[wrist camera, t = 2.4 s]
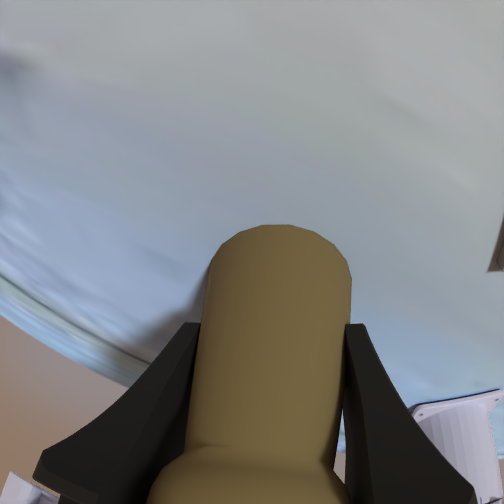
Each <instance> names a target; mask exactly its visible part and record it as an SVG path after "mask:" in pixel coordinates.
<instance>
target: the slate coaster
mask: <svg viewBox="0 0 504 504" xmlns="http://www.w3.org/2000/svg"><path fill="white" fill-rule="evenodd" d="M497 264H498V265H499V267H500V268H501V270H502V271H504V241H503V245H502V248H501V251H500V254H499V257H498V260H497Z"/></svg>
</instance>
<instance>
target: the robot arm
mask: <svg viewBox="0 0 504 504" xmlns="http://www.w3.org/2000/svg"><path fill="white" fill-rule="evenodd" d="M200 327H201V323H188V322H185V323H184V324H183V325H182V326H181V327H180V329H179V330H178V331H177V333H176V334H175V335H174V336H173V338H172V339H171V340H170V342H169V343H168V344H167V345H166V347H165V348H164V349H163V350H162V352H161V353H160V354H159V355H158V357H157V358H156V359H155V360H154V361H153V363H152V364H151V365H150V366H149V367H148V369H147V370H146V371H145V372H144V373H143V374H142V375H141V376H140V378H139V379H138V380H137V381H136V382H135V383H134V384H133V385H132V386H131V387H130V388H129V389H128V390H127V391H126V392H125V393H124V394H123V395H122V396H121V397H120V398H119V399H118V400H117V401H116V402H115V403H114V404H113V405H111V406H110V407H109V408H108V409H107V410H105V411H104V412H103V413H102V414H101V415H99V416H98V417H97V418H96V419H94V420H93V421H92V422H90V423H89V424H88V425H86V426H84V427H83V428H81V429H80V430H78V431H77V432H76V433H74V434H73V435H71V436H69V437H68V438H66V439H64V440H62V441H60V442H59V443H57V444H55V445H53V446H51V447H49V448H47V449H45V450H43V452H42V454H41V456H40V459H39V461H38V464H37V466H36V469H35V471H34V473H33V476H32V477H33V479H34V480H35V481H37V482H39V483H41V484H43V485H44V486H46V487H48V488H50V489H51V490H53V491H55V492H57V493H59V494H61V495H60V498H59V497H57V496H55V495H54V494H52V493H50V492H48V491H46V490H44V489H43V488H41V487H39V486H37V485H34V484H33V483H31V482H29V481H28V480H26V479H24V478H23V477H21V476H19V475H18V474H16V473H15V472H13V471H11V472H10V473H9V476H8V478H7V481H6V484H5V486H4V489H3V491H2V494H1V497H0V504H146V502H147V498H148V495H149V492H150V489H151V486H152V484H153V483H154V481H155V479H156V478H157V476H158V475H159V473H160V472H161V470H162V468H163V467H165V466H166V465H168V464H169V463H170V462H172V461H173V460H175V459H176V458H177V457H179V456H180V455H181V454H183V453H184V446H185V437H186V429H187V421H188V412H189V404H190V397H191V389H192V381H193V374H194V367H195V360H196V353H197V346H198V340H199V333H200ZM345 344H346V381H345V390H344V399H343V418H344V428H345V439H346V466H345V484H344V485H345V486H346V487H347V488H348V490H349V493H350V496H351V500H352V504H504V499H503V500H501V499H502V498H503V490H502V482H501V476H500V469H499V463H498V457H497V452H496V447H495V442H494V437H493V433H492V428H491V424H490V420H489V416H488V413H489V412H490V411H491V409H492V408H493V407H494V406H495V405H496V404H497V403H498V401H499V400H500V399H501V398H502V397H503V396H504V390H502V389H501V390H497V391H492V392H488V393H484V394H479V395H475V396H470V397H465V398H459V399H454V400H448V401H442V402H436V403H430V404H423V405H419V406H417V407H416V408H415V410H414V411H413V413H412V414H411V413H410V412H409V410H408V409H407V407H406V406H405V404H404V402H403V401H402V399H401V398H400V396H399V394H398V392H397V391H396V389H395V387H394V386H393V384H392V382H391V380H390V378H389V376H388V375H387V373H386V371H385V369H384V367H383V365H382V363H381V361H380V359H379V357H378V355H377V353H376V351H375V349H374V346H373V344H372V342H371V339H370V337H369V335H368V332H367V329H366V327H365V325H364V324H345Z"/></svg>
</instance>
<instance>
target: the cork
mask: <svg viewBox="0 0 504 504" xmlns="http://www.w3.org/2000/svg"><path fill="white" fill-rule="evenodd" d="M351 286H352V278H351V274H350V271H349V267H348V264H347V261H346V259H345V258H344V257H343V256H342V254H341V253H340V252H339V250H338V249H337V248H336V247H335V245H334V244H332V243H331V242H329V241H328V240H326V239H325V238H323V237H321V236H320V235H318V234H317V233H315V232H313V231H310V230H306V229H303V228H299V227H295V226H292V225H261V226H258V227H255V228H251V229H248V230H245V231H241V232H239V233H238V234H236V235H235V236H233V237H232V238H230V239H229V240H228V241H226V242H225V243H223V244H222V245H221V247H220V248H219V250H218V251H217V253H216V254H215V256H214V257H213V259H212V260H211V265H210V270H209V276H208V281H207V288H206V294H205V300H204V306H203V313H202V319H201V327H200V333H199V340H198V346H197V353H196V360H195V367H194V374H193V381H192V389H191V397H190V404H189V412H188V421H187V429H186V437H185V446H184V453H183V454H181V455H180V456H179V457H177V458H176V459H175V460H173V461H172V462H170V463H169V464H168V465H166V466H165V467H163V468H162V470H161V472H160V473H159V475H158V476H157V478H156V479H155V481H154V483H153V484H152V486H151V489H150V492H149V495H148V498H147V502H146V504H352V500H351V496H350V493H349V490H348V488H347V487H346V486H345V485H344V483H343V482H342V481H341V480H340V479H339V477H338V476H337V475H336V473H335V472H334V471H333V468H334V463H335V457H336V451H337V444H338V438H339V431H340V423H341V416H342V408H343V399H344V390H345V381H346V344H345V324H350V312H351Z"/></svg>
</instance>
